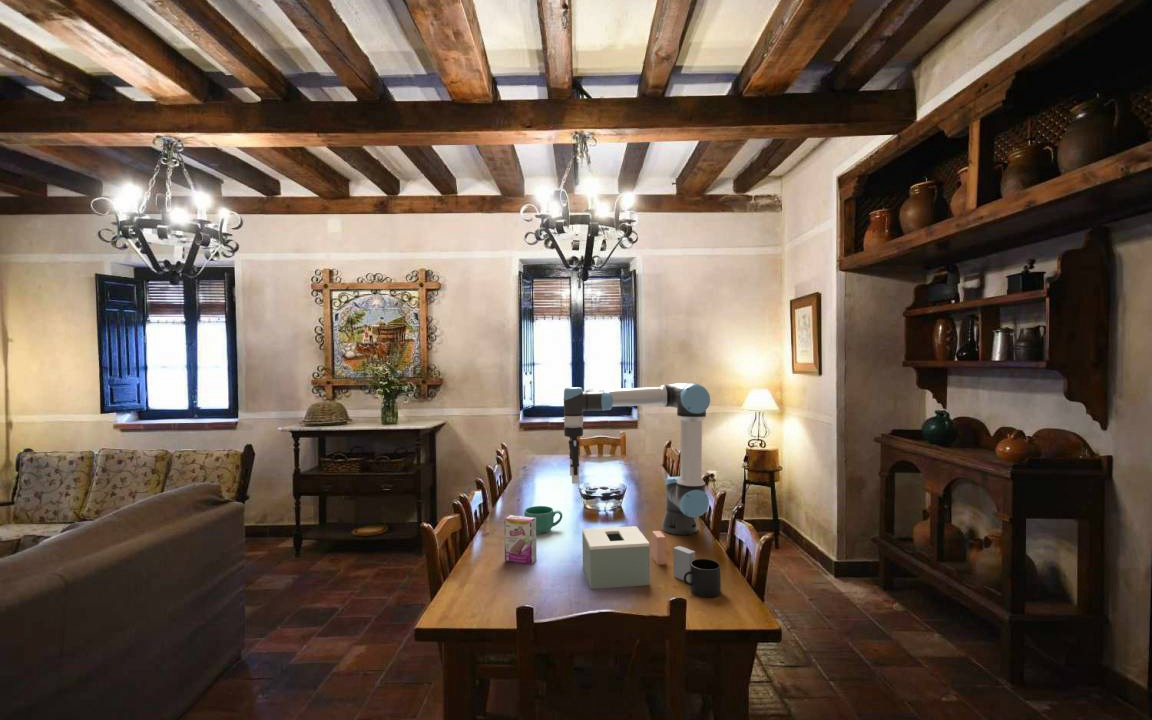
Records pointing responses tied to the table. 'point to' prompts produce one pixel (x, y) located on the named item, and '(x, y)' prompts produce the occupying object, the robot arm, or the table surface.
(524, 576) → the table surface
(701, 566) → the mug
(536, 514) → the mug
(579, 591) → the table surface
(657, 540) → the pink rectangular block
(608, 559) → the pale green white box
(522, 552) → the candy bar box
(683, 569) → the grey rectangular block
